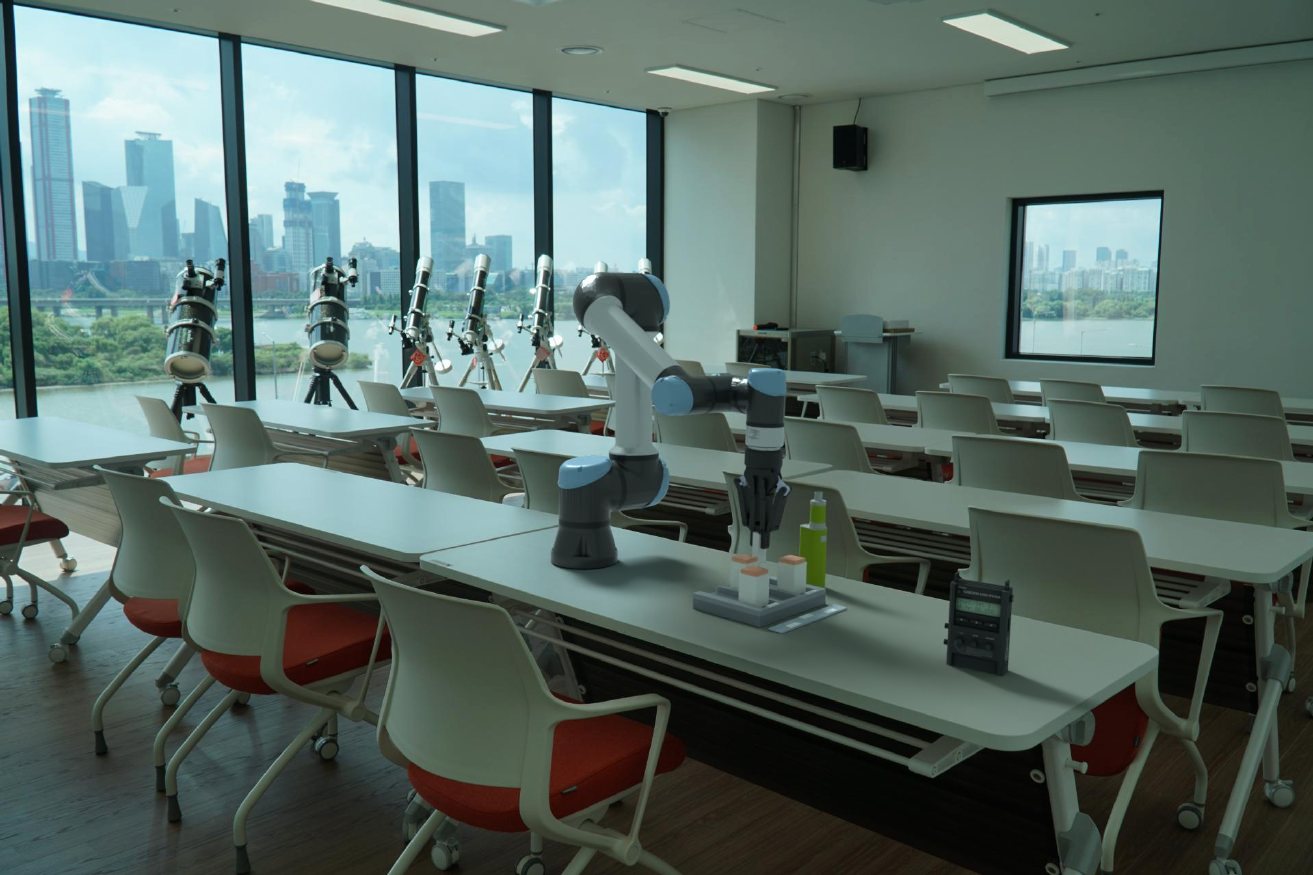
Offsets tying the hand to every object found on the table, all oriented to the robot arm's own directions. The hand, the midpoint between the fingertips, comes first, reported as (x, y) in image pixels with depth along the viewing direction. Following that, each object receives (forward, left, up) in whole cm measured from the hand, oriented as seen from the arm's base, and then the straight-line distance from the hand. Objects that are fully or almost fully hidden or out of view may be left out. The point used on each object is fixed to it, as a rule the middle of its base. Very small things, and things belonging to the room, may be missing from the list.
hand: (758, 563), depth 200 cm
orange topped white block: (+8, -12, -5) cm, 15 cm away
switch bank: (+5, -6, -7) cm, 10 cm away
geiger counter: (+50, -8, -7) cm, 51 cm away
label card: (+16, -6, -7) cm, 19 cm away
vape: (+4, +13, -7) cm, 15 cm away
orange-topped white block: (+1, -6, -5) cm, 7 cm away
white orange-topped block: (+8, 0, -5) cm, 9 cm away
